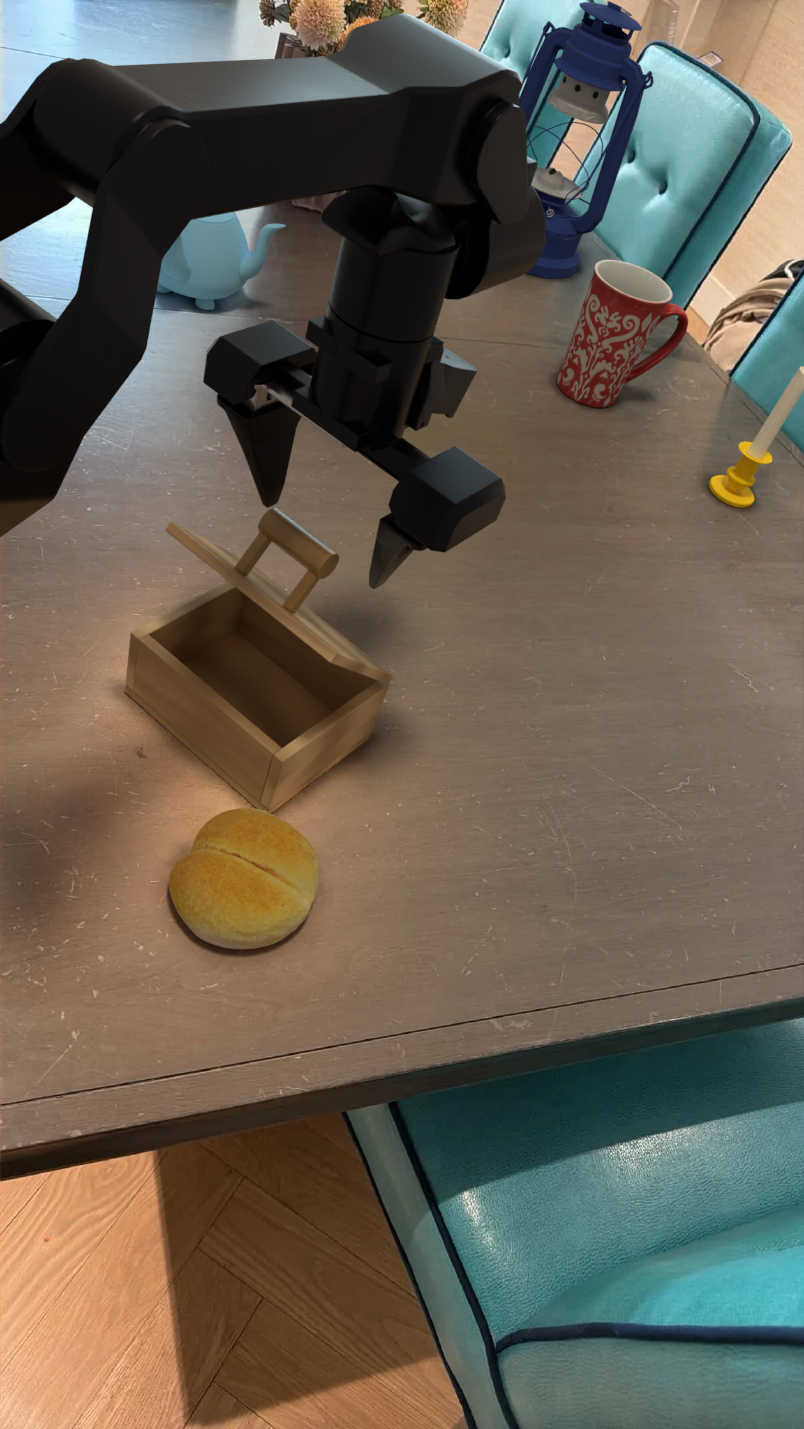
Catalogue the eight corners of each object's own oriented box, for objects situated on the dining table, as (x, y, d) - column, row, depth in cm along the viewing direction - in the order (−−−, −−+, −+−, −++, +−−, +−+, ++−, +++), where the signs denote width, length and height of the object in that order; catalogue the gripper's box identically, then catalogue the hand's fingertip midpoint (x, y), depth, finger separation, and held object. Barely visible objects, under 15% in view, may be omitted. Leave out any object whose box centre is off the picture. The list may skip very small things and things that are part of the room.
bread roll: (143, 916, 57) (149, 879, 55) (220, 810, 64) (229, 772, 61) (270, 983, 57) (282, 949, 54) (335, 869, 63) (349, 834, 60)
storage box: (266, 817, 64) (282, 762, 60) (124, 692, 68) (130, 631, 64) (369, 739, 71) (389, 684, 67) (234, 628, 75) (246, 570, 71)
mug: (554, 403, 112) (603, 289, 103) (543, 362, 118) (588, 250, 109) (655, 427, 115) (712, 318, 105) (639, 385, 121) (692, 279, 111)
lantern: (599, 268, 143) (699, 30, 122) (553, 292, 133) (653, 37, 112) (500, 213, 147) (581, -27, 125) (448, 233, 136) (526, -25, 115)
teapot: (225, 260, 114) (238, 168, 107) (273, 321, 107) (290, 227, 100) (114, 257, 107) (120, 158, 100) (158, 322, 101) (168, 221, 94)
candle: (760, 502, 110) (842, 376, 99) (735, 512, 107) (817, 384, 96) (725, 474, 112) (801, 348, 101) (699, 484, 109) (775, 355, 98)
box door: (329, 663, 56) (383, 589, 55) (164, 529, 60) (213, 460, 59) (388, 684, 67) (434, 623, 66) (244, 570, 70) (286, 511, 70)
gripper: (601, 366, 54) (506, 579, 66) (350, 208, 59) (301, 430, 71) (488, 424, 47) (403, 651, 58) (213, 238, 52) (183, 480, 63)
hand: (322, 544), depth 63 cm, fingers open, 9 cm apart
